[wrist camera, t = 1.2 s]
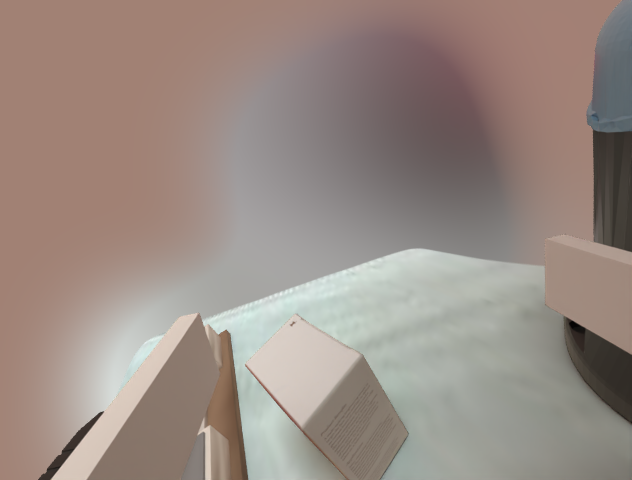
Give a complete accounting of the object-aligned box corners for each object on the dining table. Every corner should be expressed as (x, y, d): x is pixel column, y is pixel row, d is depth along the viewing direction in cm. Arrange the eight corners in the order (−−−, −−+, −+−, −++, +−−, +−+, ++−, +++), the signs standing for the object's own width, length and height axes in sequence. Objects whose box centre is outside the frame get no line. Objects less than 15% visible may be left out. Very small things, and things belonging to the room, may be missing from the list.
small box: (304, 430, 27) (241, 362, 22) (343, 381, 29) (294, 310, 25) (367, 504, 21) (299, 431, 16) (411, 434, 23) (362, 352, 18)
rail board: (230, 333, 44) (213, 314, 42) (253, 521, 23) (221, 500, 21) (170, 373, 43) (150, 355, 41) (136, 608, 22) (91, 594, 20)
